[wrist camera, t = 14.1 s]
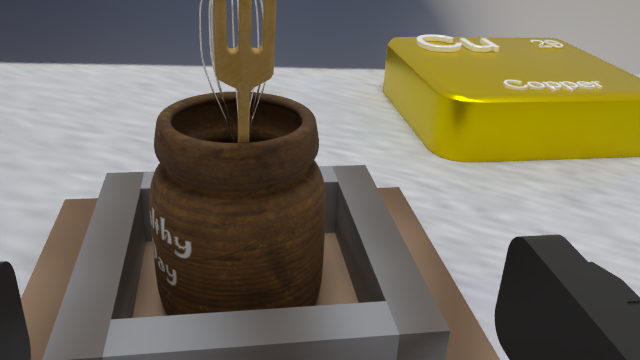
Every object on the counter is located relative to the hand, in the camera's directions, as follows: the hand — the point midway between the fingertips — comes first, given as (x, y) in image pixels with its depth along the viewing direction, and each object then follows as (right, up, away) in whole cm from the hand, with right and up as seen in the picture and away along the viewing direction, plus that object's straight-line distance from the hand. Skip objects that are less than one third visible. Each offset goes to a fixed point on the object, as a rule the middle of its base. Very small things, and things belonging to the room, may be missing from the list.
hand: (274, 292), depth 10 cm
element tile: (+14, +6, +34) cm, 37 cm away
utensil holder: (-2, -3, +12) cm, 13 cm away
